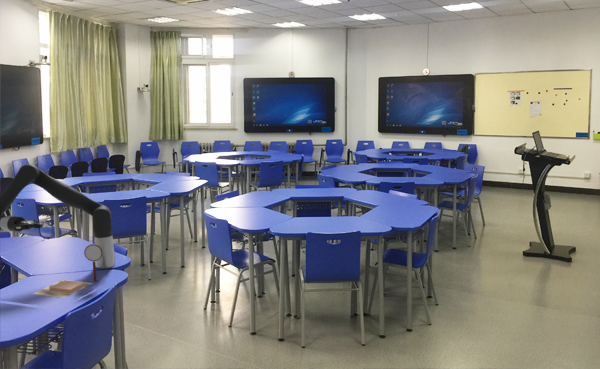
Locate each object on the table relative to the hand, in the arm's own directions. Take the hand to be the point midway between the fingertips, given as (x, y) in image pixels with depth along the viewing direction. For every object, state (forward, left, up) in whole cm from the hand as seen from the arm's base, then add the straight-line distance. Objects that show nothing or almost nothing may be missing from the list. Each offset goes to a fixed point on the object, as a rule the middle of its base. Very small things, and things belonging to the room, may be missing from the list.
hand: (41, 225), depth 256 cm
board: (+5, +15, -30) cm, 34 cm away
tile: (+5, +11, -28) cm, 30 cm away
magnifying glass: (-8, +23, -30) cm, 38 cm away
